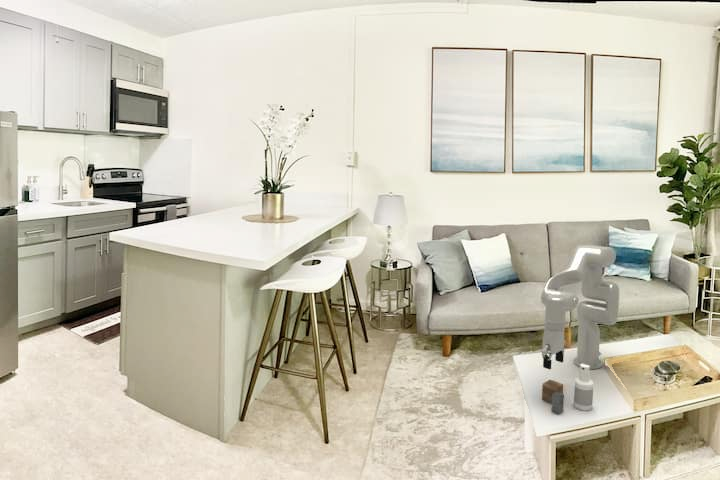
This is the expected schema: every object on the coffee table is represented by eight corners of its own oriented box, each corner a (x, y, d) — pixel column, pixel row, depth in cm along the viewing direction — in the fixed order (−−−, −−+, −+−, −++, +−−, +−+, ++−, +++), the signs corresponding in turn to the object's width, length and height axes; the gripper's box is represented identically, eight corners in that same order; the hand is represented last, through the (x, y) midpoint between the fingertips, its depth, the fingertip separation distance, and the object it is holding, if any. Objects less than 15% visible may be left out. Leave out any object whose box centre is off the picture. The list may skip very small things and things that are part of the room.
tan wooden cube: (549, 394, 203) (549, 379, 201) (562, 400, 198) (563, 384, 197) (541, 399, 199) (542, 384, 198) (555, 405, 194) (556, 389, 193)
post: (555, 408, 192) (556, 391, 190) (563, 411, 189) (563, 394, 188) (551, 411, 190) (552, 394, 188) (559, 414, 187) (559, 397, 186)
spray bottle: (571, 406, 193) (572, 365, 189) (577, 400, 197) (579, 360, 194) (588, 412, 188) (590, 370, 185) (594, 406, 192) (596, 364, 189)
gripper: (556, 318, 201) (555, 356, 204) (534, 328, 190) (533, 368, 193) (574, 322, 195) (572, 361, 198) (552, 333, 184) (550, 374, 187)
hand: (553, 364), depth 195 cm, fingers open, 9 cm apart
